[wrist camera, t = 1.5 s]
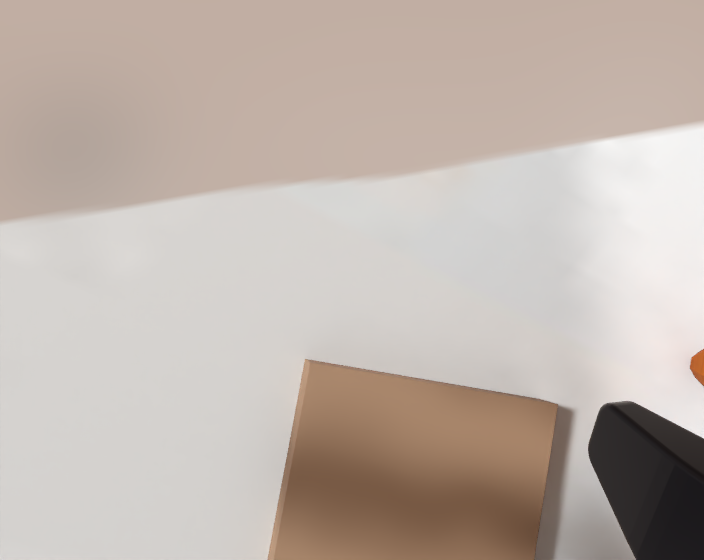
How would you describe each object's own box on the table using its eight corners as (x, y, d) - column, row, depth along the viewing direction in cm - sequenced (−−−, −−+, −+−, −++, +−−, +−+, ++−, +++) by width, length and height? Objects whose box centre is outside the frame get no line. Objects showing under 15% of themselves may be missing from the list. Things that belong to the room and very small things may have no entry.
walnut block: (494, 637, 25) (517, 666, 23) (254, 617, 23) (257, 646, 21) (532, 397, 26) (558, 404, 24) (303, 358, 24) (310, 362, 22)
